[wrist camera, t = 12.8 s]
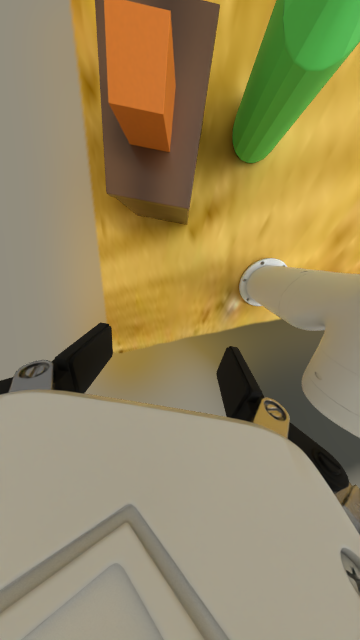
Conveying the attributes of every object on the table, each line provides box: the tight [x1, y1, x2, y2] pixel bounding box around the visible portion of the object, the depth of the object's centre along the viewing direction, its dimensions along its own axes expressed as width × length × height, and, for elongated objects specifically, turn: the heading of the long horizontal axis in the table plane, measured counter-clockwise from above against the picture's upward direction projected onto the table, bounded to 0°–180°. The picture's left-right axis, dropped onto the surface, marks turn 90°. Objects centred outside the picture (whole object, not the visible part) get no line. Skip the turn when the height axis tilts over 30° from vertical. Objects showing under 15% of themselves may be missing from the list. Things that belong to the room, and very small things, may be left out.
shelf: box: [95, 0, 220, 224], centre depth 23 cm, size 13×16×13 cm
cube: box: [104, 0, 176, 152], centre depth 14 cm, size 5×5×5 cm
